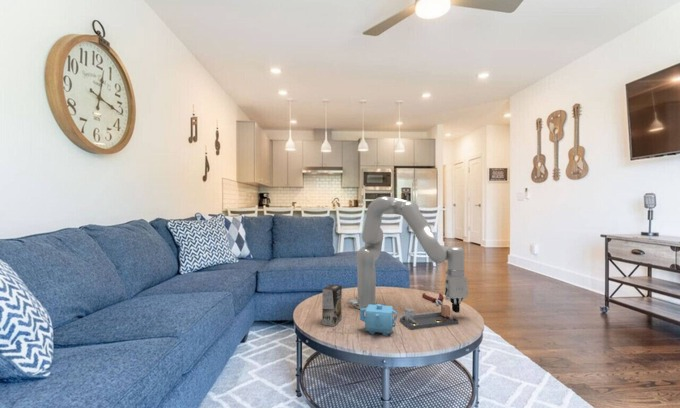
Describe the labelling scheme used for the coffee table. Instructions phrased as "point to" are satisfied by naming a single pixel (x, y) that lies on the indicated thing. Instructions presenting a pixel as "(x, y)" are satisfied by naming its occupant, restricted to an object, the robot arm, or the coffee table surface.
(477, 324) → the coffee table surface
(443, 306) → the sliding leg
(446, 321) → the plate
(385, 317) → the teapot
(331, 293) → the coffee box
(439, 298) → the pliers
